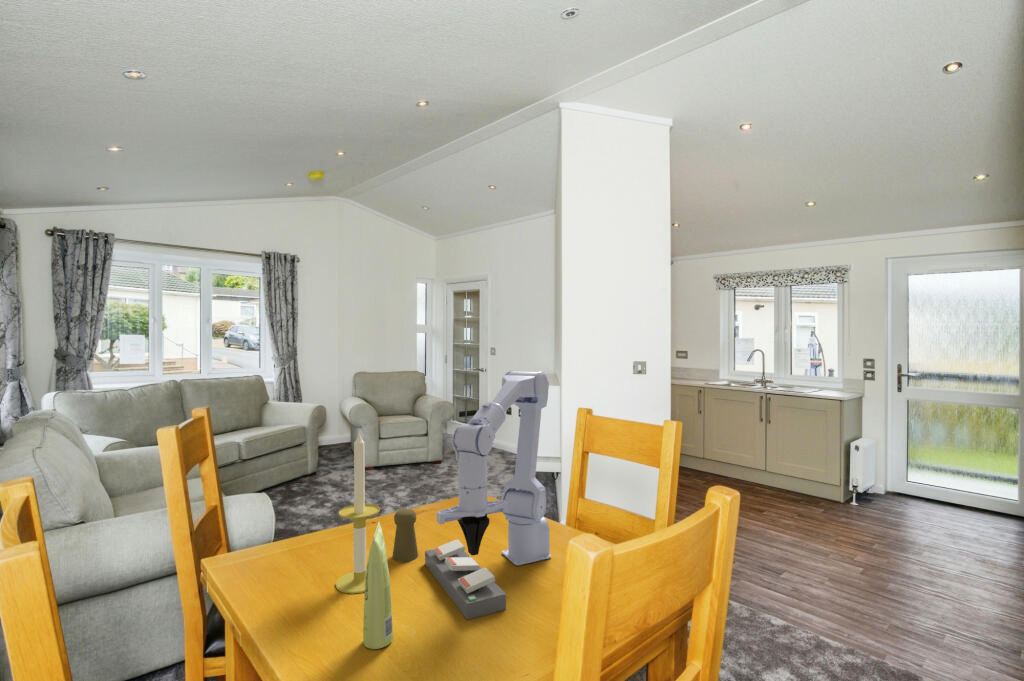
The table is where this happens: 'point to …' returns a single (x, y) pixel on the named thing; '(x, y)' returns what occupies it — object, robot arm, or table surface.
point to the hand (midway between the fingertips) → (473, 553)
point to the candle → (357, 524)
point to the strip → (471, 603)
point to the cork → (405, 536)
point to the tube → (377, 596)
